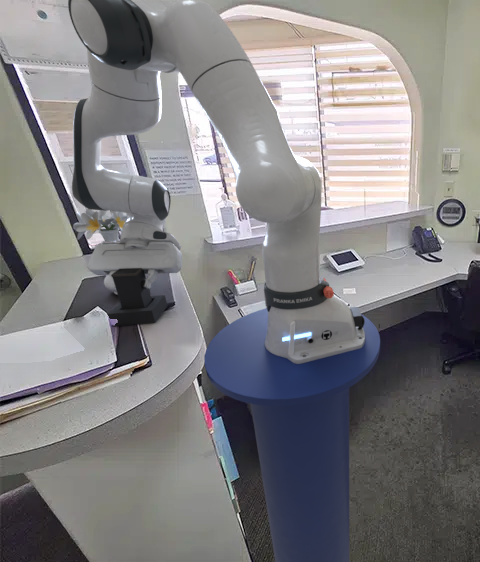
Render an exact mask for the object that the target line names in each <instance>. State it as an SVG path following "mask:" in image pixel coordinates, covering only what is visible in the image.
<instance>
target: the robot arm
mask: <svg viewBox="0 0 480 562" xmlns="http://www.w3.org/2000/svg"><path fill="white" fill-rule="evenodd" d="M67 7H68V13H69V17H70V21H71V24H72V26H73V28H74V30H75V33H76V35H77V36H78V38H79V40H80V41H81V43H82V44H83V45H84V46H83V47H85V49H86V55H87V66H88V73H89V78H90V84H91V85H90V86H91V87H90V88H91V89H90V94H89V96H88V97H87V98H82V99H80V100H79V101H78V102H77V105H76V106H75V109H74V113H73V122H72V123H73V125H72V126H73V128H72V146H73V147H72V148H73V149H72V150H73V153H72V154H73V171H72V172H73V173H72V181H71V193H72V196H73V198H74V199H75V200H76V201H77V202H78V203H79V204H81V205H82V206H83V207H85V208H86V209H91V210H93V211H100V210H104V211H106V212H107V211H109V212H110V211H116V212H123V214H125V215H127V220H126V222H125V223H124V225H123V229H122V232H121V233H120V236H119V237H120V238H119V241H105V240H103V241H102V242H99V243H98V244H95V246H94V249H93V251H92V253H91V255H90V256H89V260H88V262H87V267H86V268H87V269H88V270H89V272H91V273H92V274H94V275H95V276H105V275H110V277H111V279H112V281H113V285H112V288H113V289H114V290H116V287H115V284H114V280H113V277H112V276H111V274H113V273H114V272H116V271H117V270H118V269H125V268H142V269H143V270H144V272H145V275H148V276H146V280H142V282H141V283H142V284H141V287H142V288H143V289H149V290H150V289H151V288H152V284H153V283H154V282H155V281H156V280H157V278H159V274H177V273H179V272H180V271H181V270H182V267H183V254H182V252H181V249H182V245H181V243H180V241H179V240H178V239H177V238H176V237H175V236H174V235H173V234H172V233H170V232H167V231H164V226H165V224H166V222H167V217H169V215H170V214H169V213H170V210H171V202H172V200H171V193H170V191H169V190H168V189H167V187H166V186H165V185H164V184H163V182H161V181H160V180H159V179H155V178H152V177H147V176H143V175H137V174H130V173H125V172H121V171H115V170H110V169H108V168H106V167H104V166H102V165H101V159H102V140H103V139H106V138H111V137H117V136H133V135H140V134H143V133H146V132H149V131H150V130H152V129H153V128H155V127H157V125H158V124H159V122H160V121H161V118H162V111H163V110H162V108H163V101H162V100H163V99H162V85H161V77H160V76H161V72H162V73H166V74H176V73H180V74H181V76H182V77H183V79H184V81H185V83H186V85H187V87H188V89H189V90H190V91H191V93H192V94H193V96H194V98H195V100H196V101H197V103H198V104H199V106H200V108H201V109H202V111H203V112H204V114H205V115H206V117H207V119H208V121H209V122H210V124H211V125H212V128H213V129H214V131H215V132H216V134H217V135H218V137H219V139H220V142H221V144H222V145H223V147H224V150H225V153H226V155H227V157H228V160H229V163H230V166H231V169H232V171H233V174H234V177H235V195H236V199H237V201H238V203H239V205H240V207H241V208H242V210H243V211H244V213H246V214H247V215H248V216H249V217H251V218H252V219H254V220H256V221H258V222H261V223H265V224H266V228H265V235H264V239H263V242H262V247H261V252H262V261H263V269H264V270H263V271H264V279H265V282H264V285H263V296H264V304H265V308H267V311H268V324H267V333H266V338H265V347H266V349H267V350H268V351H269V352H271V353H272V354H274V355H277V356H281V357H284V358H287V359H289V360H290V361H291V362H293V363H295V364H301V363H305V362H309V361H313V360H317V359H321V358H325V357H329V356H333V355H337V354H341V353H344V352H348V351H352V350H356V349H360V348H362V347H363V345H364V343H365V333H364V330H363V326H364V323H365V320H364V318H363V316H364V315H363V314H362V312H361V310H360V307H358V306H349V305H348V304H347V303H345V302H344V301H343V300H341V299H339V298H338V297H335V292H334V290H333V287H331V286H330V283H329V282H328V281H327V279H326V278H325V277H323V278H321V277H320V253H319V252H320V251H319V243H320V242H319V241H320V230H321V218H322V217H321V215H322V191H323V181H322V176H321V174H320V172H319V170H318V169H317V168H316V166H315V165H314V164H313V163H312V162H310V161H309V160H308V159H306V158H304V157H301V156H297V155H295V154H294V152H293V150H292V148H291V147H290V144H289V142H288V140H287V136H286V134H285V132H284V129H283V126H282V123H281V120H280V114H279V110H278V109H277V106H276V105H275V103H274V102H273V100H272V98H271V96H270V94H269V92H268V91H267V88H266V87H265V85H264V83H263V81H262V79H261V78H260V76H259V74H258V73H257V71H256V68H255V67H254V65H253V63H252V61H251V60H250V58H249V56H248V54H247V53H246V51H245V50H244V48H243V47H242V44H241V43H240V42H239V40H238V39H237V37H236V36H235V34H234V33H233V31H232V30H231V28H230V27H229V25H228V23H226V21H225V20H224V19H223V17H222V16H221V15H220V14H219V13H218V11H217V10H216V9H215V8H214V7H213V6H212V5H211V4H210V3H208V2H206V1H205V0H68V1H67ZM361 314H362V315H363V316H362V315H361Z"/></svg>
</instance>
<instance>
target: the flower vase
mask: <svg viewBox="0 0 480 562" xmlns="http://www.w3.org/2000/svg"><path fill="white" fill-rule="evenodd" d="M109 213H110V214H107V211H104V210H91V209H88V208H86V209H85V211H84V212H82V213H81V214H80V212H79V211H76V214H75V215H76V218H77V220H78V222H75V223H73V225H72V229H73V230H74V231H75V232H78V233H77V236H76V240H77V241H78V240H80V239H81V238H82V236H84V234H85V233H86V234H85V239H86V240H90V239H91V238H92V237H93V236H94V234H95V233H96V232H97V231H98V233H99V234H100V235H101V237H102V239H103V241H120V238H119V237H120V236H119V232H121V233H122V229H123V225H124V223H125V222H126V220H127V215H126V214H124V213H123V212H116V211H109ZM103 285H104V288H106V289H107V290H109V291H111V292H113V294H114V295H117V296H118V293H117V290H114V289H113V288H112V285H113V281H112V279H111V277H110V275H107V276H105V277H104V279H103Z"/></svg>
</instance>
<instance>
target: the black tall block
mask: <svg viewBox="0 0 480 562" xmlns="http://www.w3.org/2000/svg"><path fill="white" fill-rule="evenodd" d="M111 276H112V277H113V280H114V284H115V287H116V290H117V293H118V295H117V296H118V300H119V303H121V306H122V310H127V309H139V308H147V307H148V306H149V305H150V303H151V302H152V299H151V296H152V294H151V292H150V289H143V288H142V287H141V284H142V283H141V282H142V280H146V279H147V276H146V274H145V272H144V270H143V269H142V268H125V269H118V270H117V271H116V272H114V273H113V274H111Z"/></svg>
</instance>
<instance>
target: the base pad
mask: <svg viewBox="0 0 480 562" xmlns="http://www.w3.org/2000/svg"><path fill="white" fill-rule="evenodd" d="M166 298H167V297H166V295H165V294H160V295H151V299H152V302H151V303H150V305H149V306H148V307H147V308H139V309H127V310H122V306H121V303H120V302H119V303H117V305H115V306H114V307H113V308H112V309H111V310H110V311H109V312H108V313H107V314H106V316H107V315H108V316H109V318H110V319H117V320H118V323H116V324H115V326H114V327H124V326H135V325H144V324H145V325H146V324H155V323H157V321H158V320H159V318H161V316H162V314H163V313H164V312H165V311H166V309H167V308H168V302H167V299H166ZM108 316H107V317H108Z"/></svg>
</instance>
